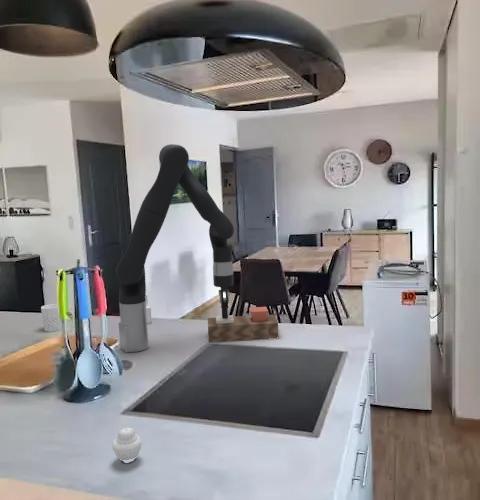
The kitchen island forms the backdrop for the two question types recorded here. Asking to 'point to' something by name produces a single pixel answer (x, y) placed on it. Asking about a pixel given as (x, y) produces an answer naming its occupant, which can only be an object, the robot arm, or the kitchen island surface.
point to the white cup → (50, 317)
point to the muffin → (127, 444)
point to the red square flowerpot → (258, 313)
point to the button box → (242, 329)
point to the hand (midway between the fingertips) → (225, 317)
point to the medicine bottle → (148, 312)
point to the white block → (221, 321)
